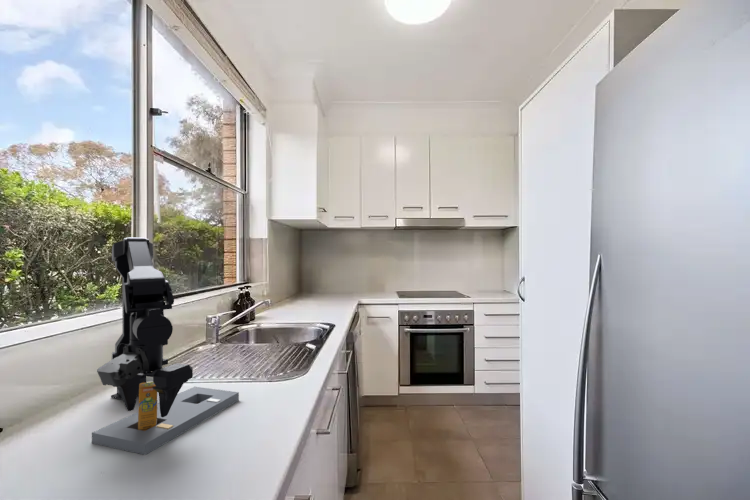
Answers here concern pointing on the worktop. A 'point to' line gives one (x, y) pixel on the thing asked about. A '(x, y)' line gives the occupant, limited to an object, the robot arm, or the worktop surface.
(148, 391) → the supplement box
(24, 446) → the worktop surface
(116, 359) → the robot arm
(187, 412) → the port panel
